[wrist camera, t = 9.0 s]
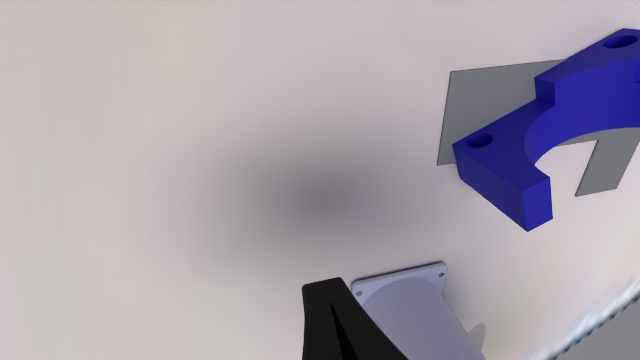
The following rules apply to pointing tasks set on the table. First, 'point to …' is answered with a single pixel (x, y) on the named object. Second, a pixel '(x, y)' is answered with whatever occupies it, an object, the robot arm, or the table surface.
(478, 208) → the table surface
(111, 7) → the table surface
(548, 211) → the cable clip
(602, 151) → the t marking
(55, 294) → the table surface
